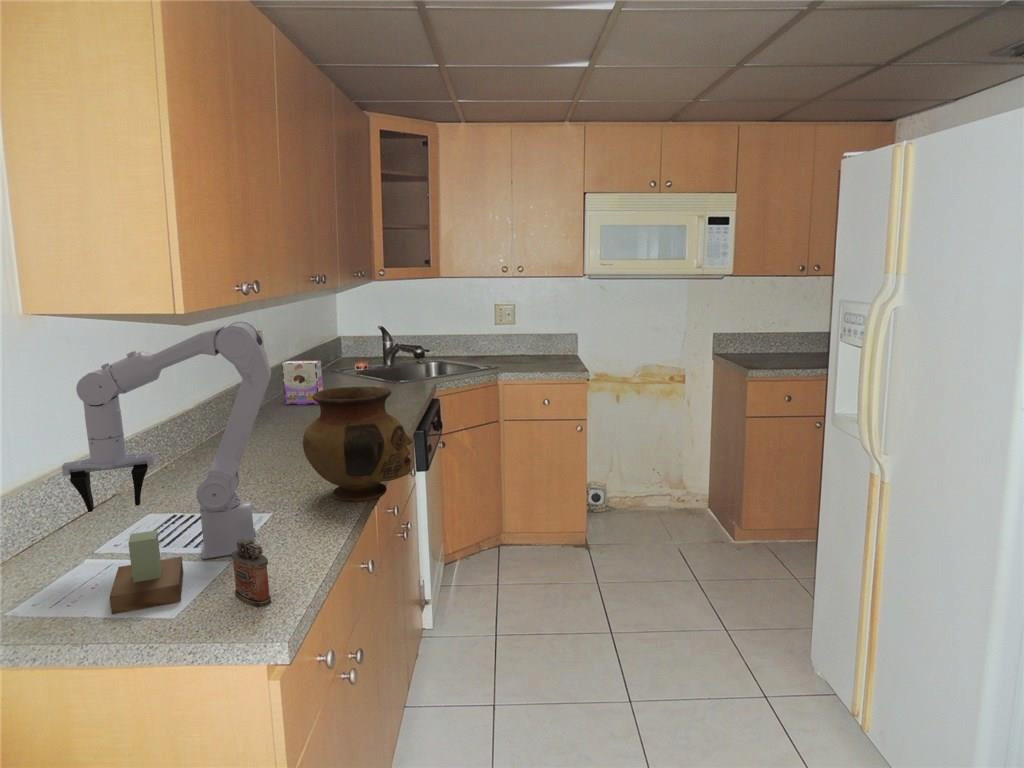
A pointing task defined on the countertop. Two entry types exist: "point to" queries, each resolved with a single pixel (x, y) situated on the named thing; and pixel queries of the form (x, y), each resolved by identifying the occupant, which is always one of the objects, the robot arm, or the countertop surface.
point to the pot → (356, 442)
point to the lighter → (251, 574)
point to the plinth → (147, 588)
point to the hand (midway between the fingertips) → (114, 507)
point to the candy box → (301, 381)
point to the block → (145, 556)
